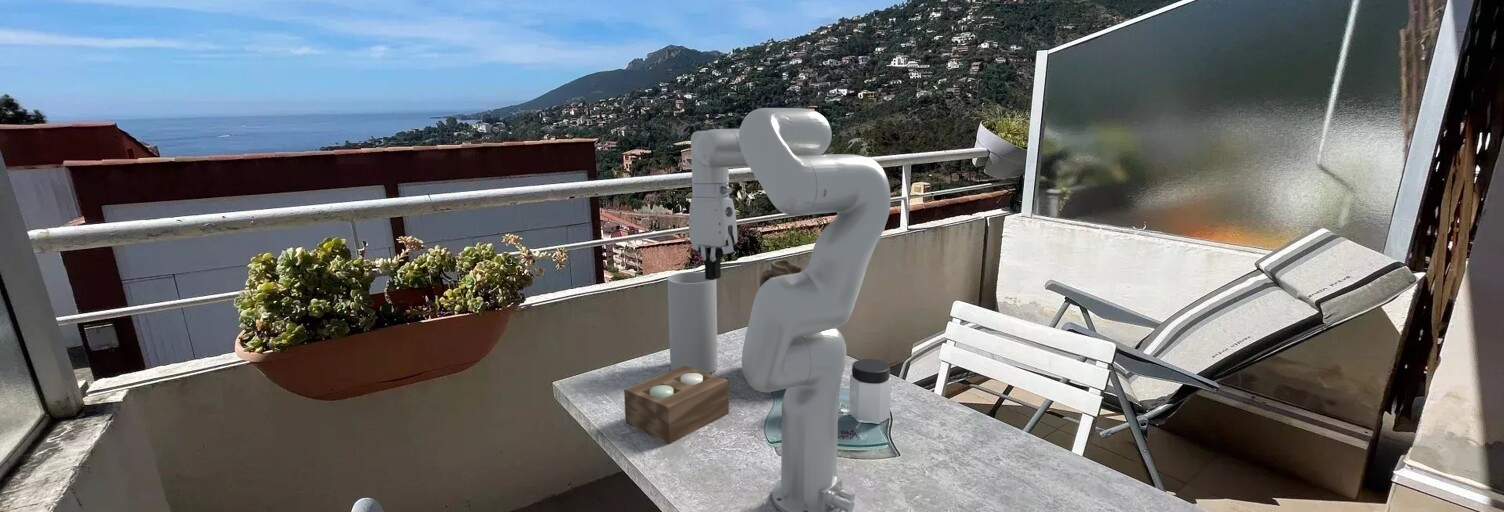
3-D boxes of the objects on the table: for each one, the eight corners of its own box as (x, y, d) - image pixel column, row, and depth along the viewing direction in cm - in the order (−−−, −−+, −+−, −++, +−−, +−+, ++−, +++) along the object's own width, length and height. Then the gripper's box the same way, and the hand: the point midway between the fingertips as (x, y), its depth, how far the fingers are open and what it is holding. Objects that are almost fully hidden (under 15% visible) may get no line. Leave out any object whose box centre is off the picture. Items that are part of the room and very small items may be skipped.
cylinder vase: (721, 375, 165) (719, 282, 160) (672, 379, 162) (669, 284, 157) (713, 358, 177) (712, 271, 172) (668, 362, 174) (665, 273, 169)
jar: (843, 410, 145) (845, 360, 142) (875, 405, 147) (877, 356, 145) (861, 427, 136) (863, 375, 134) (895, 422, 139) (897, 370, 136)
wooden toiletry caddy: (728, 413, 143) (728, 380, 142) (669, 443, 130) (668, 407, 128) (685, 396, 152) (684, 365, 151) (625, 423, 139) (624, 389, 137)
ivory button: (707, 393, 144) (707, 376, 143) (692, 400, 140) (691, 383, 139) (692, 387, 147) (691, 371, 146) (676, 394, 143) (675, 377, 142)
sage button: (678, 406, 137) (678, 389, 136) (661, 414, 133) (660, 396, 132) (663, 400, 140) (662, 383, 139) (645, 408, 136) (644, 390, 136)
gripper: (750, 191, 129) (751, 279, 133) (696, 188, 139) (699, 271, 142) (726, 194, 124) (728, 286, 127) (671, 191, 133) (675, 277, 136)
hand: (713, 278), depth 134 cm, fingers closed
